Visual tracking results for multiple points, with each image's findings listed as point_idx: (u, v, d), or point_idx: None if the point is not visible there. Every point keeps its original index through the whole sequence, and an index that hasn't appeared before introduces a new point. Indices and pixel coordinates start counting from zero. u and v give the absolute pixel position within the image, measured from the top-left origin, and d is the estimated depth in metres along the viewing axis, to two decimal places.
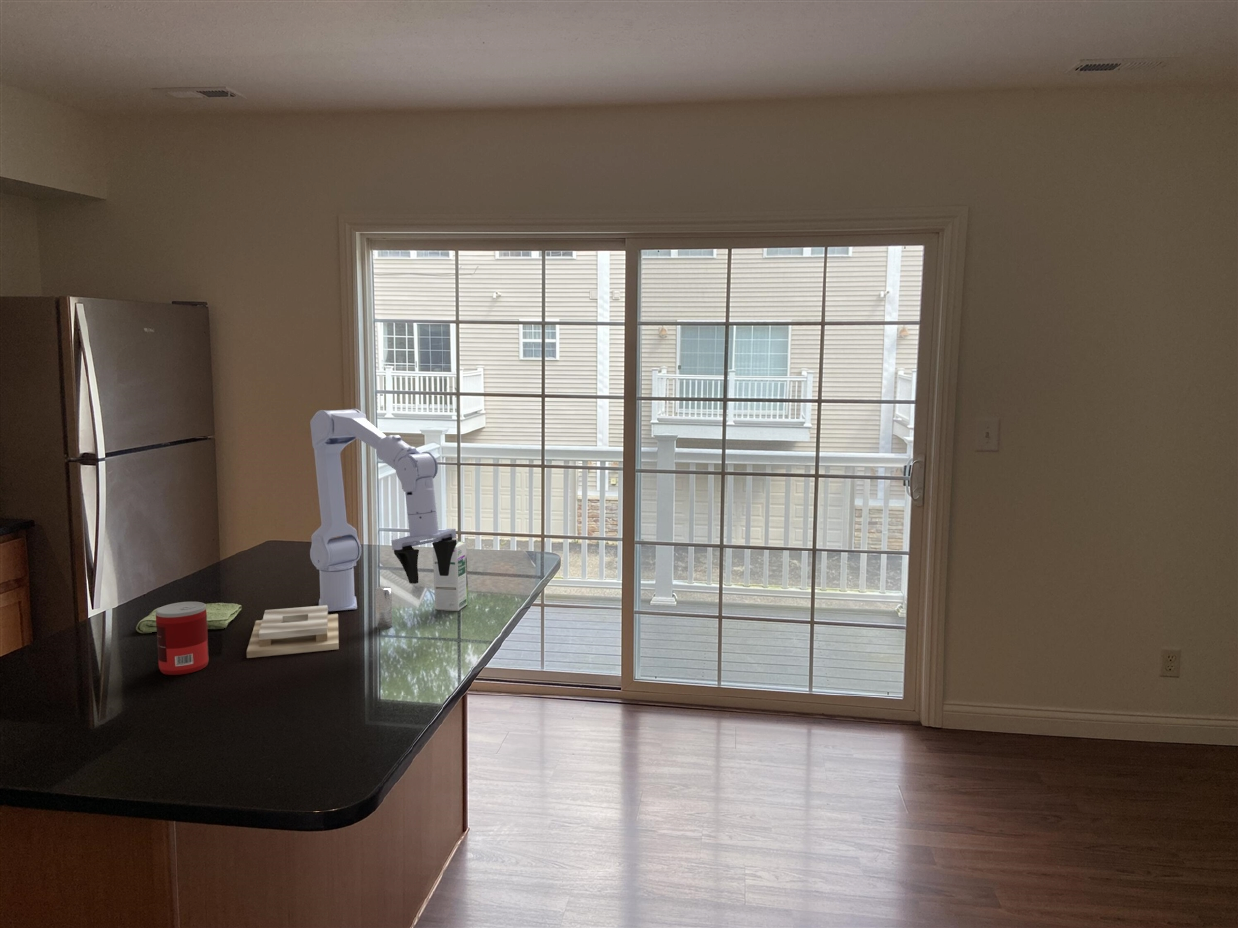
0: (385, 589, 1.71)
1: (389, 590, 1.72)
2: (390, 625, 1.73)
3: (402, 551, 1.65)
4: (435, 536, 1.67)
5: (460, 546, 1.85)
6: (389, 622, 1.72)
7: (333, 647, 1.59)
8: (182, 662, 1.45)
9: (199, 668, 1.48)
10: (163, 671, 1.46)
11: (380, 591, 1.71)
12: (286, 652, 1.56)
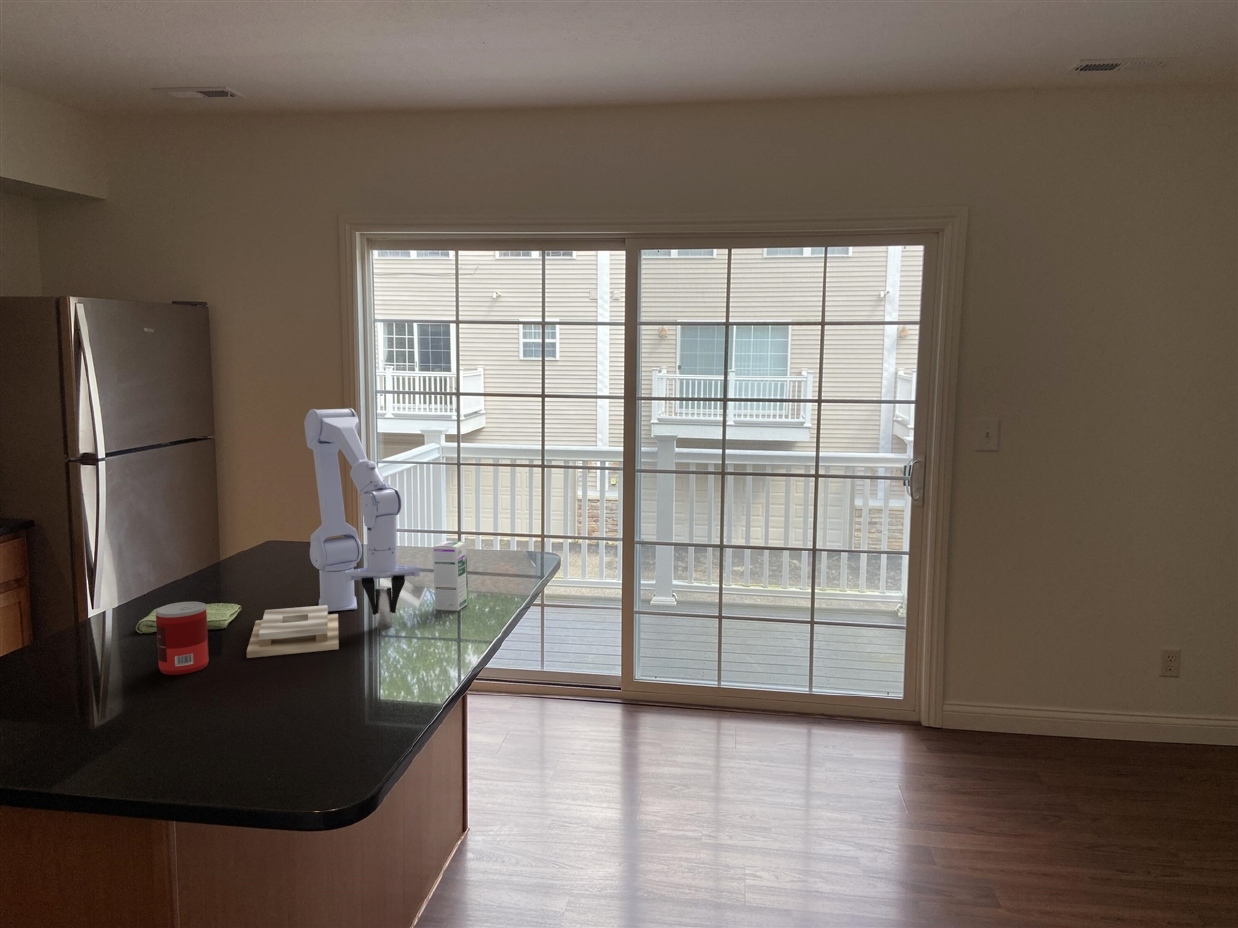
0: (385, 589, 1.71)
1: (389, 590, 1.72)
2: (390, 625, 1.73)
3: None
4: (382, 575, 1.68)
5: (460, 546, 1.85)
6: (389, 622, 1.72)
7: (333, 647, 1.59)
8: (182, 662, 1.45)
9: (199, 668, 1.48)
10: (163, 671, 1.46)
11: (380, 591, 1.71)
12: (286, 652, 1.56)
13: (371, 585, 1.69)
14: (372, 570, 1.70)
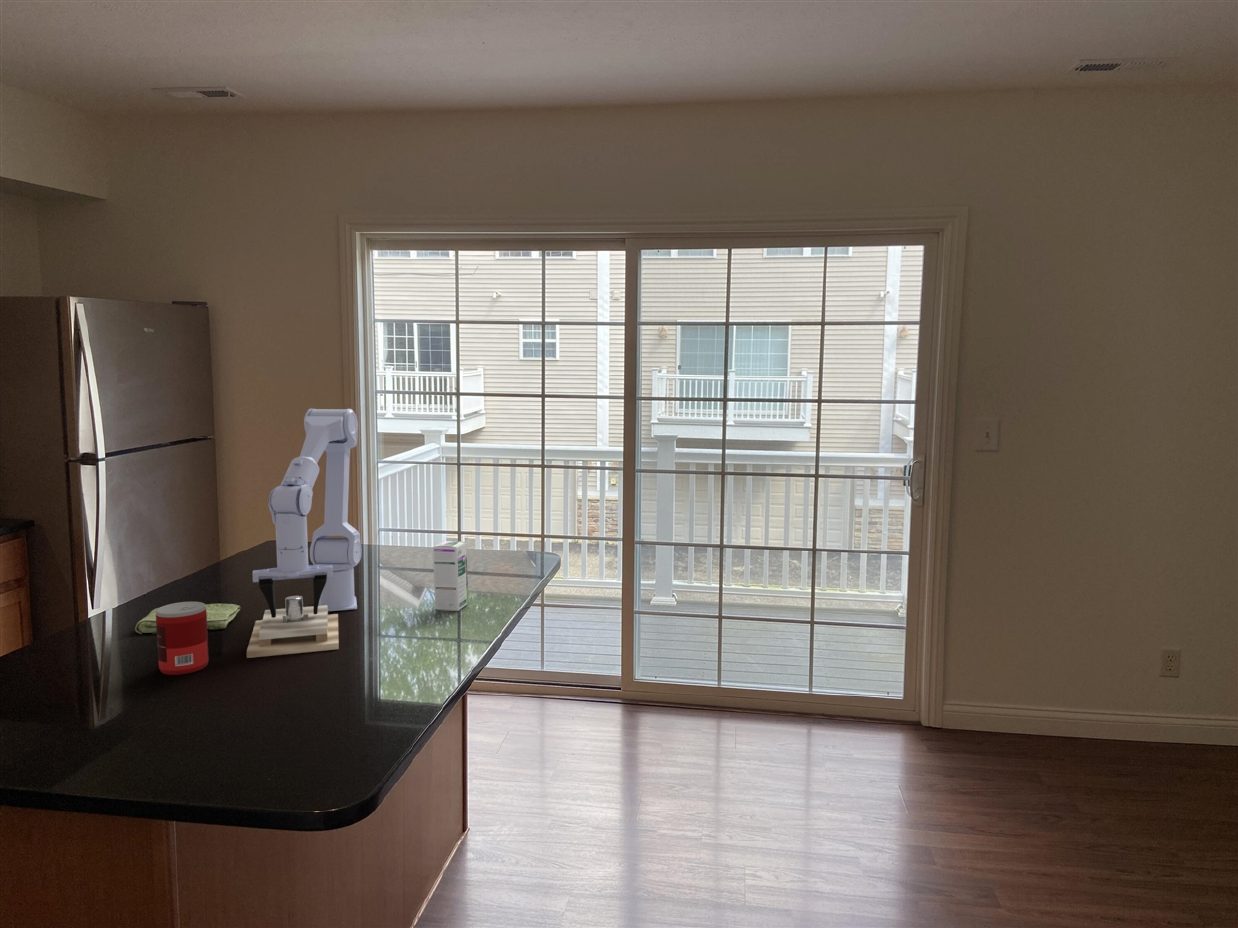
0: (295, 599, 1.64)
1: (299, 600, 1.65)
2: None
3: (259, 584, 1.62)
4: (290, 575, 1.61)
5: (460, 546, 1.85)
6: None
7: (333, 647, 1.59)
8: (182, 662, 1.45)
9: (199, 668, 1.48)
10: (163, 671, 1.46)
11: (289, 601, 1.64)
12: (286, 652, 1.56)
13: (268, 587, 1.61)
14: (280, 570, 1.62)
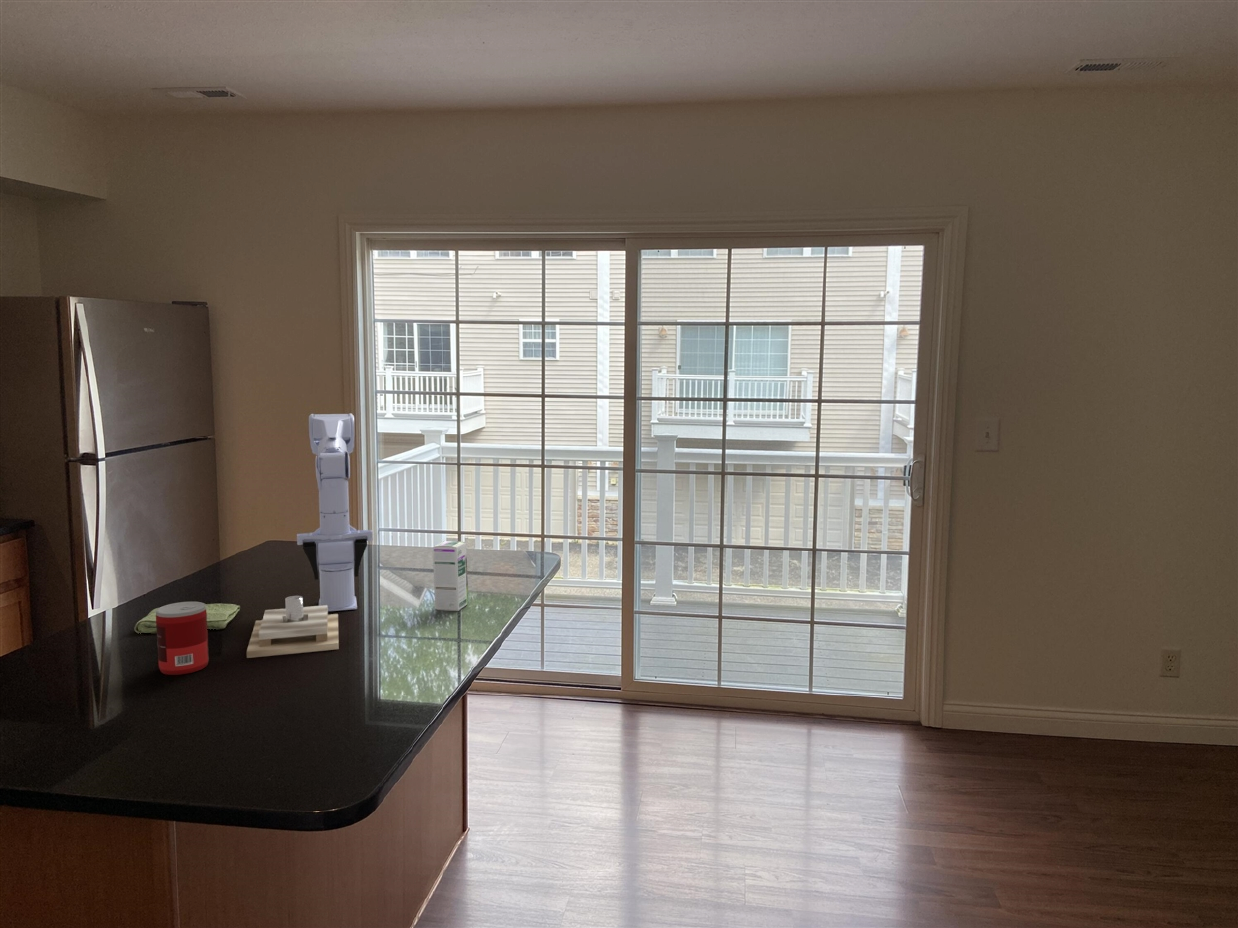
0: (295, 599, 1.64)
1: (299, 600, 1.65)
2: None
3: (303, 546, 1.69)
4: (333, 538, 1.67)
5: (460, 546, 1.85)
6: None
7: (333, 647, 1.59)
8: (182, 662, 1.45)
9: (199, 668, 1.48)
10: (163, 671, 1.46)
11: (289, 601, 1.64)
12: (286, 652, 1.56)
13: (312, 549, 1.67)
14: (324, 533, 1.69)
